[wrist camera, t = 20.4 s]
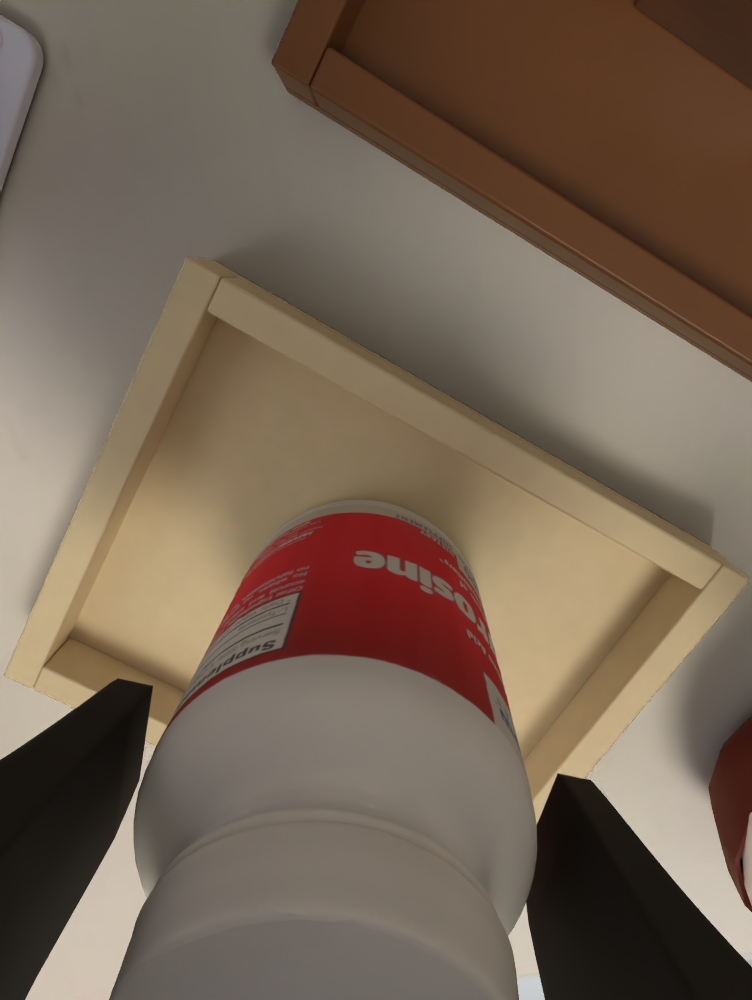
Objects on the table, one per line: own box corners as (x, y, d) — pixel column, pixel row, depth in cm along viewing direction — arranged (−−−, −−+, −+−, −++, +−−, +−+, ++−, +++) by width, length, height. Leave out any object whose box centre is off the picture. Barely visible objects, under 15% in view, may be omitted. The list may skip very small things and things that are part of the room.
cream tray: (41, 636, 19) (2, 676, 17) (211, 258, 15) (185, 256, 13) (476, 841, 21) (485, 898, 19) (712, 547, 17) (751, 580, 15)
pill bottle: (522, 624, 18) (707, 1130, 7) (342, 735, 19) (277, 1302, 8) (383, 443, 16) (360, 750, 6) (199, 578, 17) (-95, 1028, 7)
